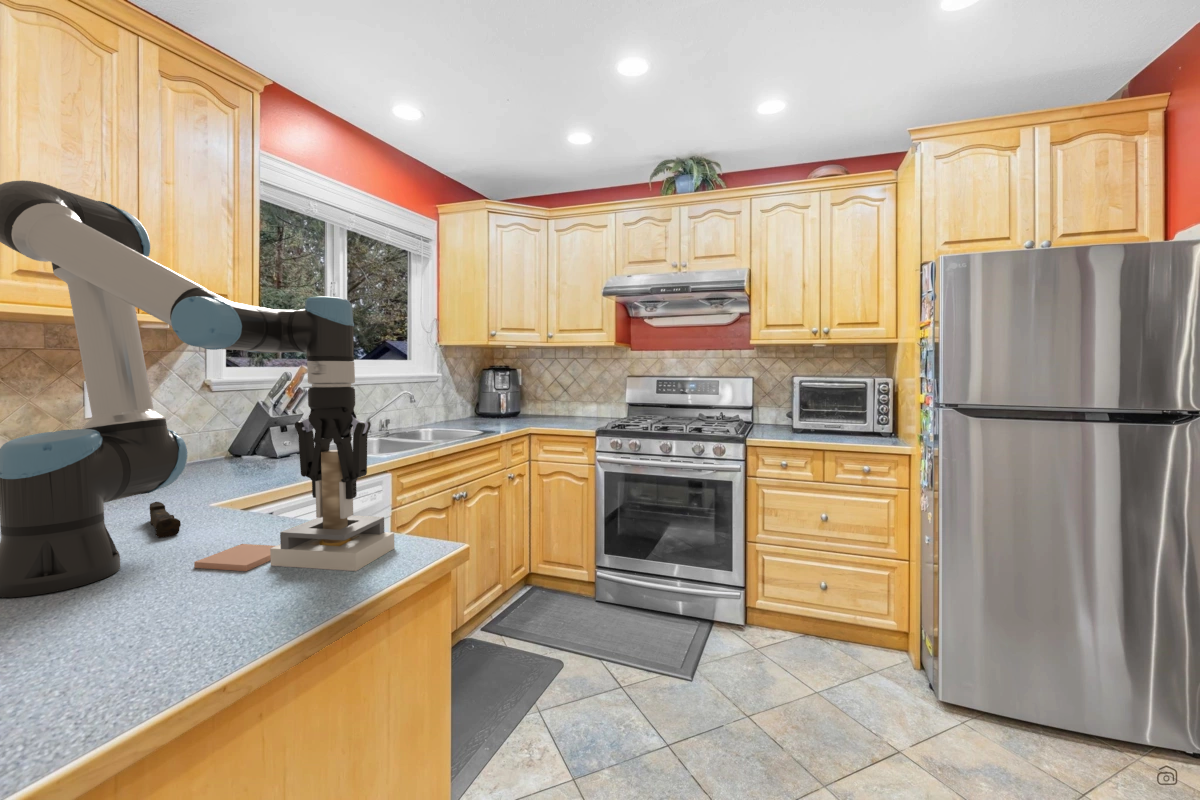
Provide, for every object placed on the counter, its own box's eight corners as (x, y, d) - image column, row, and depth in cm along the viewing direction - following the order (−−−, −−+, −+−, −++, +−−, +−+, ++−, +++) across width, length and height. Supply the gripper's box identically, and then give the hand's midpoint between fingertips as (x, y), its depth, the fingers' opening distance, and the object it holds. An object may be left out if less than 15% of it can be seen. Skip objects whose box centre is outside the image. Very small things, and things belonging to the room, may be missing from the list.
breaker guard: (270, 565, 93) (269, 531, 93) (317, 544, 105) (317, 513, 105) (356, 571, 91) (355, 536, 90) (394, 548, 102) (393, 517, 102)
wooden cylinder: (318, 542, 96) (315, 452, 95) (332, 536, 100) (330, 449, 99) (338, 543, 95) (336, 453, 95) (352, 537, 99) (350, 450, 99)
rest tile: (194, 567, 92) (194, 561, 92) (242, 549, 102) (242, 543, 102) (246, 571, 91) (246, 565, 90) (289, 551, 100) (289, 546, 100)
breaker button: (313, 560, 96) (313, 543, 96) (331, 551, 101) (331, 535, 101) (339, 561, 95) (338, 544, 95) (356, 552, 100) (356, 536, 100)
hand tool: (181, 536, 111) (180, 513, 111) (155, 540, 108) (155, 517, 108) (170, 518, 125) (170, 498, 125) (147, 521, 122) (147, 501, 122)
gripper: (273, 386, 94) (277, 519, 95) (363, 386, 91) (366, 523, 92) (303, 385, 101) (306, 509, 103) (387, 385, 99) (390, 512, 100)
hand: (335, 515), depth 97 cm, fingers closed on wooden cylinder, 4 cm apart
